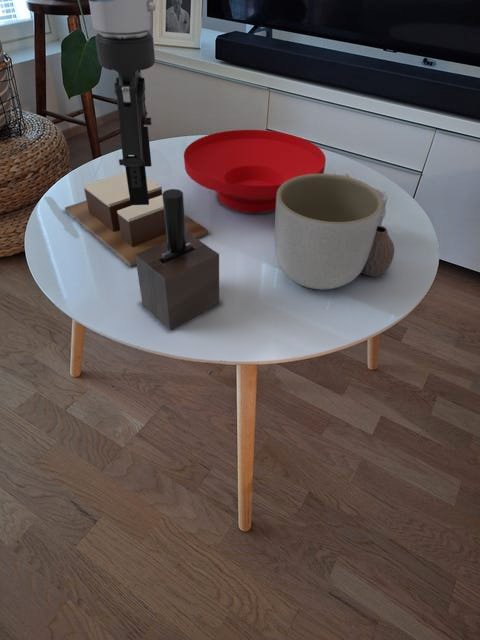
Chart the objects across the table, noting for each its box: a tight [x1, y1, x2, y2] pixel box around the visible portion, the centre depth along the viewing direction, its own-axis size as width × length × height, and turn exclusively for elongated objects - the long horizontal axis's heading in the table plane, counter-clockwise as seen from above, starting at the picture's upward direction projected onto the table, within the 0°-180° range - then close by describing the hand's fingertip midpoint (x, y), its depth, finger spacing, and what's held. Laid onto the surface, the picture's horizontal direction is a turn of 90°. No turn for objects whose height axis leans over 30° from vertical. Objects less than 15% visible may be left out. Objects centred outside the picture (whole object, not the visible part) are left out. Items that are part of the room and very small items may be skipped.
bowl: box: [183, 129, 327, 214], centre depth 103 cm, size 30×30×10 cm
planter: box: [274, 173, 383, 290], centre depth 79 cm, size 17×17×15 cm
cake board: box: [64, 199, 209, 268], centre depth 96 cm, size 26×18×1 cm
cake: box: [83, 172, 163, 232], centre depth 95 cm, size 10×12×6 cm
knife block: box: [135, 233, 220, 330], centre depth 74 cm, size 8×10×10 cm
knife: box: [162, 188, 191, 263], centre depth 70 cm, size 3×5×19 cm, turn 132°
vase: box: [360, 225, 395, 277], centre depth 83 cm, size 7×7×9 cm
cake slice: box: [117, 194, 166, 247], centre depth 89 cm, size 4×12×6 cm, turn 131°
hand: (141, 183), depth 75 cm, fingers open, 13 cm apart
